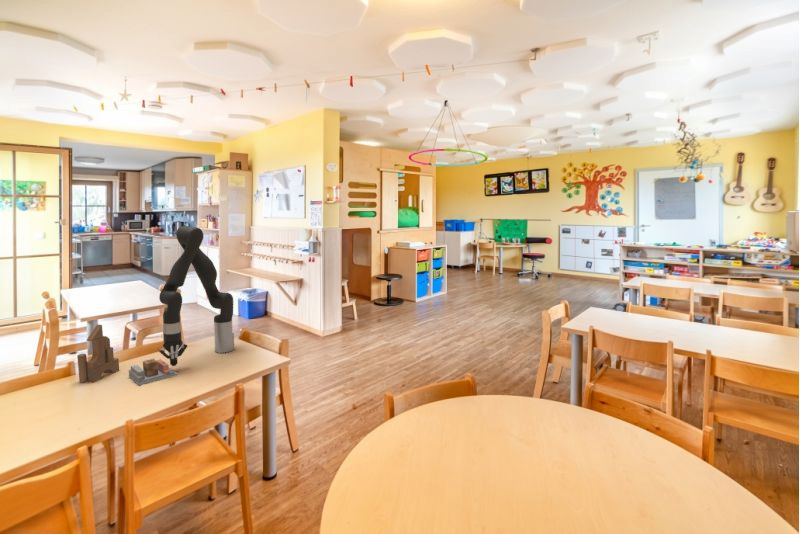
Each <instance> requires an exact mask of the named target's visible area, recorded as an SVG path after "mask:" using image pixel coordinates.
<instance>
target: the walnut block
mask: <svg viewBox="0 0 800 534" xmlns="http://www.w3.org/2000/svg"><path fill="white" fill-rule="evenodd" d="M156 360H157V359H155V358H152V359H150V358H149V359H147V360H142V369H143V370H144V371H145V376H146V377H151V376H155V375H158V362H157V361H156Z"/></svg>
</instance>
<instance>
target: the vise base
mask: <svg viewBox="0 0 800 534" xmlns="http://www.w3.org/2000/svg"><path fill="white" fill-rule="evenodd" d="M169 370H170V373H167V374H163V373H161V372H160V371H159V370H158V375H155V376H151V377H146V376H145V371H144V370H143V367H140V365H138V364H134V365H131V366H130V369H128V377H129V378H130V379H131V380H132V381H133V382H134V383H136V385H138V386H143V385H146V384H151V383H153V382H157V381H161V380H164V379H167V378H173V377H175V376H178V372H176V371H175V370H174V369H172V368H171V367H169Z"/></svg>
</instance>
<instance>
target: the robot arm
mask: <svg viewBox="0 0 800 534" xmlns="http://www.w3.org/2000/svg"><path fill="white" fill-rule="evenodd" d="M175 235H176V239H177V241H178V243H179V245H180V246H181V248H182V250H184V251H183V252H182V254H181V255H180V257H179V258H177V260H176V261H175V263H173V265H172V267H171V269H170V272H169V276H168V279H167V280H166V282H165V283H164V285H163V287H162V289H161V291H160V293H159V301H160V303H161V304H162V305H167V307H166V308H167V309H166V310H164V311H163V313H162V319H163V320H162V322H163V324H162V329H163V330H162V332H163V333H162V335H163V344H162V347H161V348H159V349H158V352H159V353H160V354H161V355H162V356H163V357H165V358H166V359H167V360H169V364H170V365H171V366H172V367H176V366H177V365H178V357H182V355H183V354H184V352H185V351H186V349H187V348H188V345H187V344H186V343H184V342H183V340H182V324H181V311H182V310H181V309H182V305H183V296H182V295H181V293H180V292H178V289H179V288H180V287H183V286H184V284H185V282H186V278H187V274H188V272H189V270H190V269H189V268H190V266H191V265H192V267H193V269H194V272H195V273H196V275H197V277H198V279H199V280H200V283H201V284H202V287H203V290H205V291H204V292H205V293H206V297H207V299H208V302H209V304H210V306H211V307H212V308H213V309H217V310H220V313H219V314H217V315H215V316H214V317H213V327H214V352H215V353H217V352H218V353H217V354H226V353H230V352H232V351H234V350H235V333H234V332H233V317H234V316H233V315H234V297H233V294H231V293H229V292H221V291H220V290H219V288H218V287H217V284H216V281H217V279H218V278H217V277H218V271H217V269H216V267H215V265H214V263H213V261H212V260H211V259H210V257H209V256H207V254H206V253H205V252H203V251H202V250H201V248H200V247H201V245H202V243H203V242H204V241H203V240H204V232H203V229H201V228H200V227H196V226H188V225H183V226H180V227H178V228H177V229H176V234H175ZM233 349H234V350H233ZM166 352H168V353H166ZM225 352H226V353H225Z"/></svg>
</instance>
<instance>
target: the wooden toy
mask: <svg viewBox="0 0 800 534" xmlns="http://www.w3.org/2000/svg"><path fill="white" fill-rule="evenodd" d="M103 333H104V332H103V325H102V324H96V325H95V327H94V328H93V329H92V331H91V333H90V334H89V336H88V337H87V339H86V341H87V342H91V346H92V349H91V350H92V356H91V358H90V359H89V360H88V359H87V358H88V357H87V354H86V353H79V354H78V355H77V368H78V369H77V370H78V380H79V383H80V384H84V383H87V382H89V383H95V382H98V381H100V380H102V375H103V374H115V373H117V372H120V362H119V361H120V360H119V357H114V356H115V355H114V347H113V346H111V341H110V338H109V337H108V336H107V335H104V334H103Z"/></svg>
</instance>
